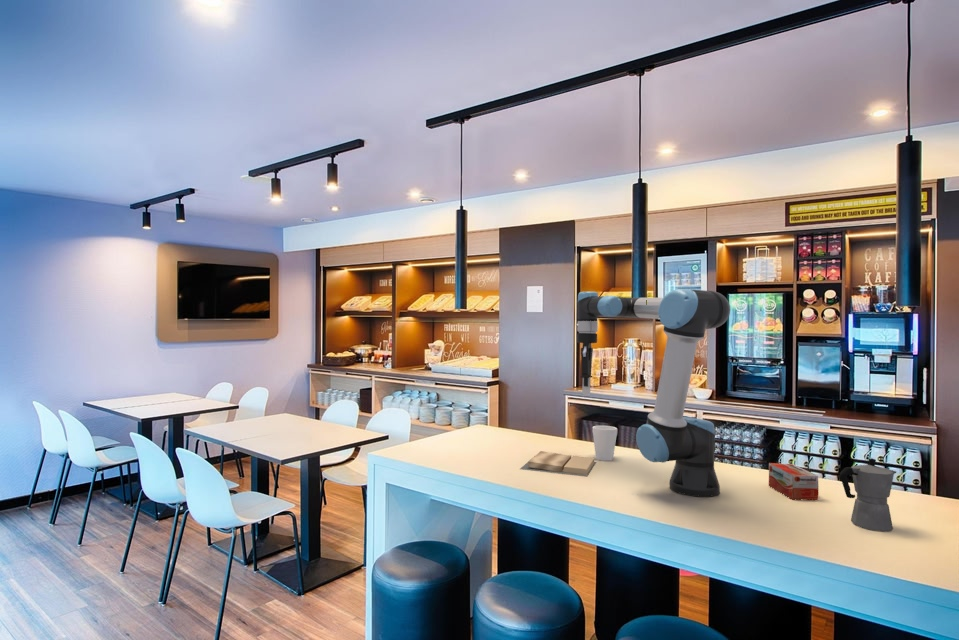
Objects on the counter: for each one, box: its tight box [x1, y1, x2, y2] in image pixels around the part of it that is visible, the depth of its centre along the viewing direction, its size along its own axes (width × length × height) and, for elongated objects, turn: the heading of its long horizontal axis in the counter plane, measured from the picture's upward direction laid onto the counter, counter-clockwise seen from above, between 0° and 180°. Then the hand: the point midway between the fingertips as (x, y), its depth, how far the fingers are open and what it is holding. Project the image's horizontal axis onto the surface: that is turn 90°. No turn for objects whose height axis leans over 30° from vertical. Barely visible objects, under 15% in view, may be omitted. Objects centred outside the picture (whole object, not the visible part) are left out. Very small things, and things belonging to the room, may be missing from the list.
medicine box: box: [768, 462, 819, 501], centre depth 175 cm, size 15×8×8 cm, turn 179°
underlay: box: [519, 455, 597, 477], centre depth 201 cm, size 24×22×3 cm
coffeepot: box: [839, 457, 897, 533], centre depth 147 cm, size 15×9×18 cm, turn 93°
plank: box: [528, 450, 572, 472], centre depth 202 cm, size 12×18×2 cm, turn 160°
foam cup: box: [592, 425, 618, 462], centre depth 213 cm, size 10×9×13 cm
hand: (586, 394), depth 207 cm, fingers closed
